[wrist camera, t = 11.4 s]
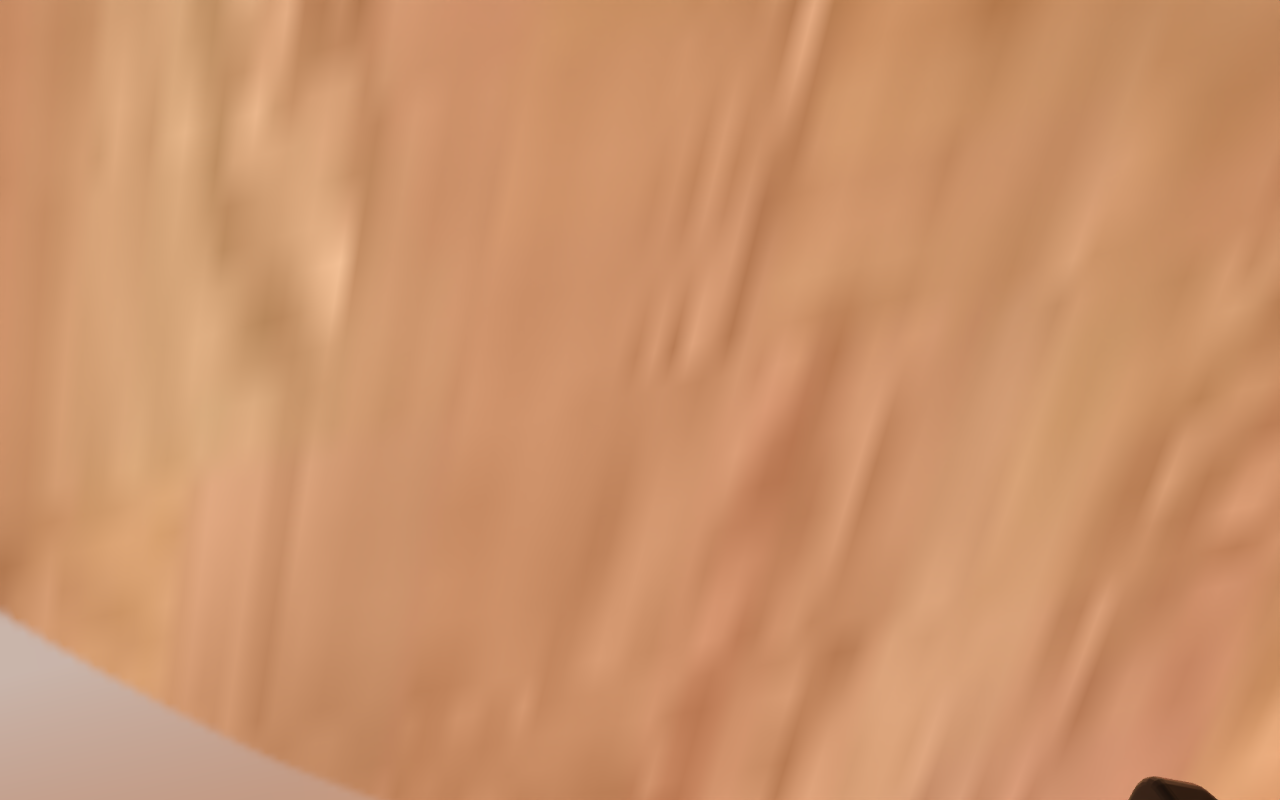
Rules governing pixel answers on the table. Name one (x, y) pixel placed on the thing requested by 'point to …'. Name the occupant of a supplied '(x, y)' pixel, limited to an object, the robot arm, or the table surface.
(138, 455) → the table surface
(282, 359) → the table surface
